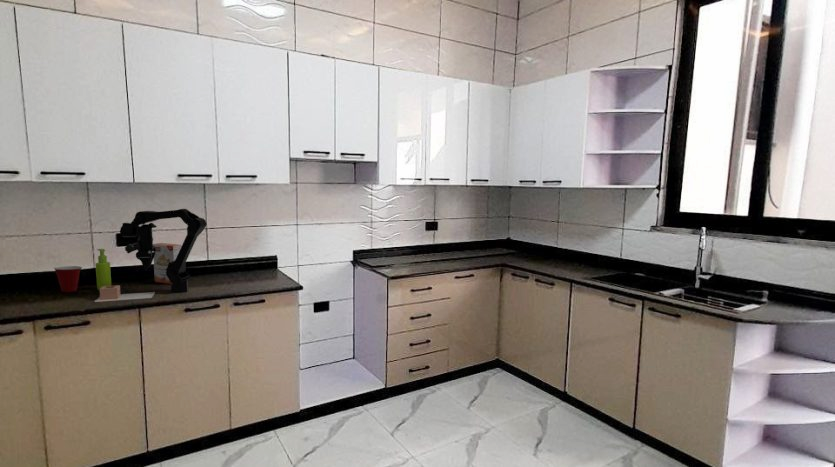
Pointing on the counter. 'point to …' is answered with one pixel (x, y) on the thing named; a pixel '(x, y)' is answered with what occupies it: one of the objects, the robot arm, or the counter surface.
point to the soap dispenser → (103, 271)
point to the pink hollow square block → (110, 292)
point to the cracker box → (164, 260)
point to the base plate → (130, 296)
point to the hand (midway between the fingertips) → (147, 269)
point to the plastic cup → (68, 277)
